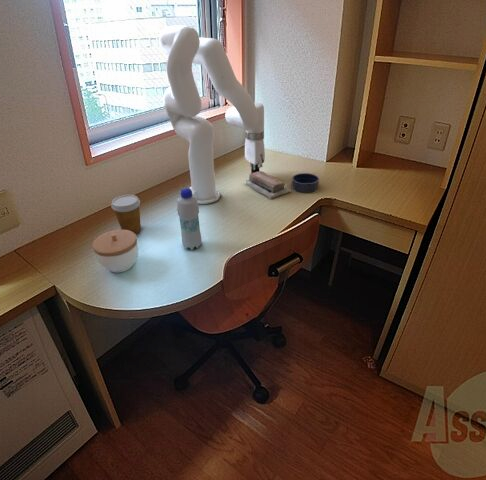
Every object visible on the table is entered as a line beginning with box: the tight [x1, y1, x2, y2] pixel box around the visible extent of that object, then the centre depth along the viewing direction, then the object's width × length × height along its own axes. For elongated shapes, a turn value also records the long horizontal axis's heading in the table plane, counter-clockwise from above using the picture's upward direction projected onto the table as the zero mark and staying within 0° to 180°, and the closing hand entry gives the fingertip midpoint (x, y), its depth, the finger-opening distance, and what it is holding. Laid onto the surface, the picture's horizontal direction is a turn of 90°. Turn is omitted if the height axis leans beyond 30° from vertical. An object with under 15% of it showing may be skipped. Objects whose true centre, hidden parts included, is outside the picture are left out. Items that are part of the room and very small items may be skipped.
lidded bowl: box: [92, 229, 139, 274], centre depth 106 cm, size 13×13×11 cm
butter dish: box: [245, 170, 291, 199], centre depth 148 cm, size 18×5×10 cm
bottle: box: [176, 188, 203, 251], centre depth 110 cm, size 7×7×20 cm
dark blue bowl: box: [291, 172, 320, 194], centre depth 147 cm, size 11×11×4 cm
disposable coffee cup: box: [110, 194, 142, 235], centre depth 122 cm, size 10×10×12 cm
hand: (255, 176), depth 157 cm, fingers closed
